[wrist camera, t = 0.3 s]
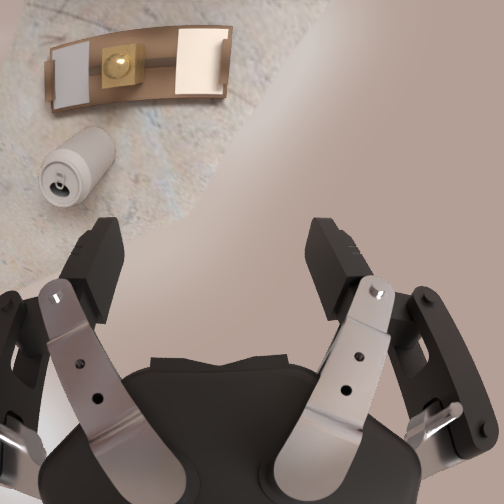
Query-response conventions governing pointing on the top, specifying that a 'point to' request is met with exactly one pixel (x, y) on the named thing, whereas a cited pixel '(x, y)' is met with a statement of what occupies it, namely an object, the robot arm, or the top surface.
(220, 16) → the top surface
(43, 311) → the robot arm
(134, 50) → the brass knob
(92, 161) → the can
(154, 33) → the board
